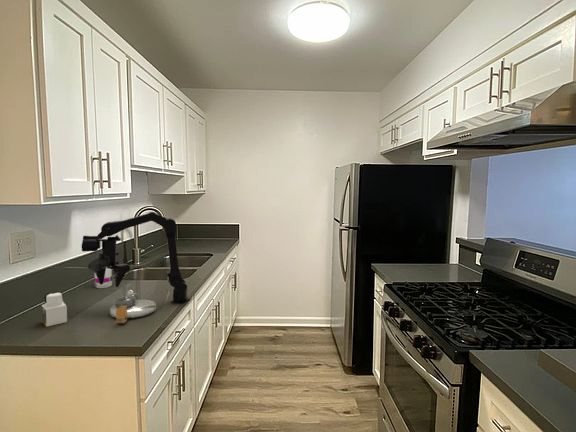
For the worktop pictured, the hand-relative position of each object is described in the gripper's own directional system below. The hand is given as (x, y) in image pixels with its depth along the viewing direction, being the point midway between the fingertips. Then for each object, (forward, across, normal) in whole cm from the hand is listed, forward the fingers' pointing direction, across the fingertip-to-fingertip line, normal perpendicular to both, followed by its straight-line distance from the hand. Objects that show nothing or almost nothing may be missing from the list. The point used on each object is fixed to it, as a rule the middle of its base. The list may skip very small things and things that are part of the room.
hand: (109, 285), depth 155 cm
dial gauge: (+10, +4, +11) cm, 15 cm away
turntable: (+10, +15, -2) cm, 17 cm away
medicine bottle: (+11, -8, -19) cm, 24 cm away
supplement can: (+11, -32, +26) cm, 43 cm away
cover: (+8, +9, 0) cm, 12 cm away
